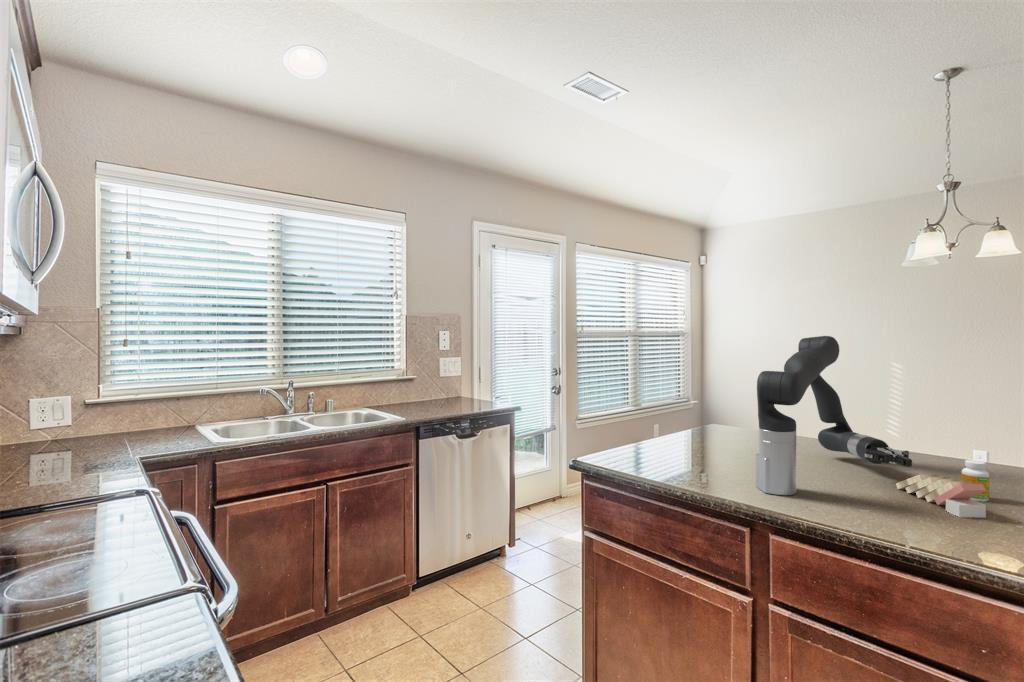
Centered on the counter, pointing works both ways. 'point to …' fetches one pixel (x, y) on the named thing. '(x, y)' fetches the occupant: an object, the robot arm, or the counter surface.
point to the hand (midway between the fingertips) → (909, 463)
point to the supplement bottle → (976, 477)
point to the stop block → (966, 508)
